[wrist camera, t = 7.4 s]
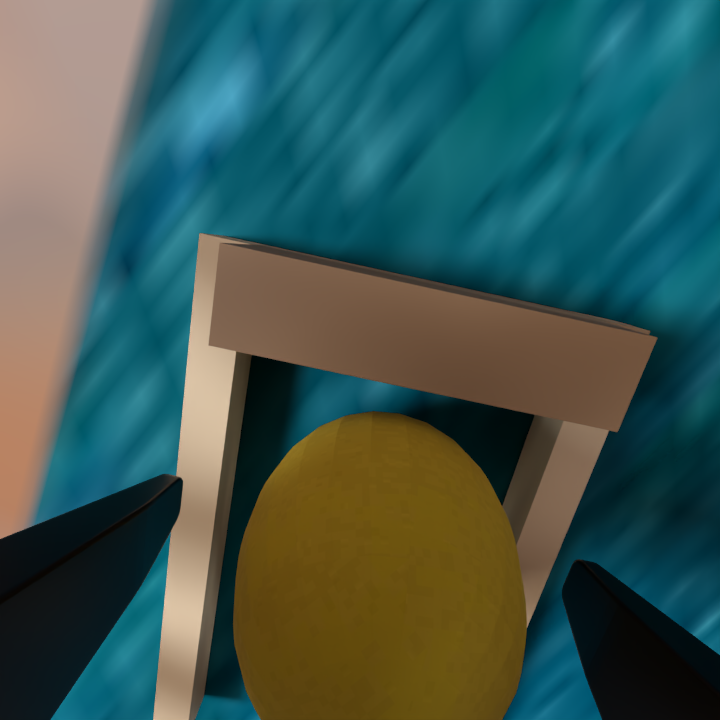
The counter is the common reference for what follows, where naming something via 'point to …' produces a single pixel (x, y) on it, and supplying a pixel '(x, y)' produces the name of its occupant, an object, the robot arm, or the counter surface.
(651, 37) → the counter surface
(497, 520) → the lemon
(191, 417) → the channel
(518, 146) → the counter surface
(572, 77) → the counter surface
